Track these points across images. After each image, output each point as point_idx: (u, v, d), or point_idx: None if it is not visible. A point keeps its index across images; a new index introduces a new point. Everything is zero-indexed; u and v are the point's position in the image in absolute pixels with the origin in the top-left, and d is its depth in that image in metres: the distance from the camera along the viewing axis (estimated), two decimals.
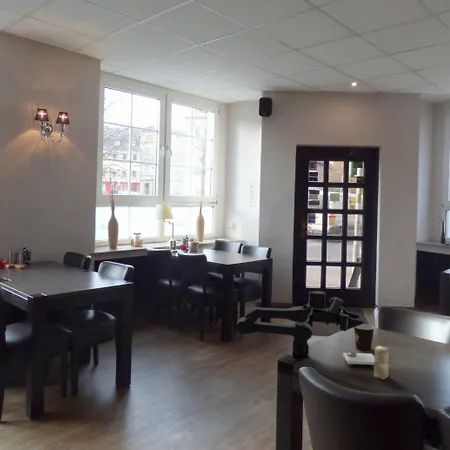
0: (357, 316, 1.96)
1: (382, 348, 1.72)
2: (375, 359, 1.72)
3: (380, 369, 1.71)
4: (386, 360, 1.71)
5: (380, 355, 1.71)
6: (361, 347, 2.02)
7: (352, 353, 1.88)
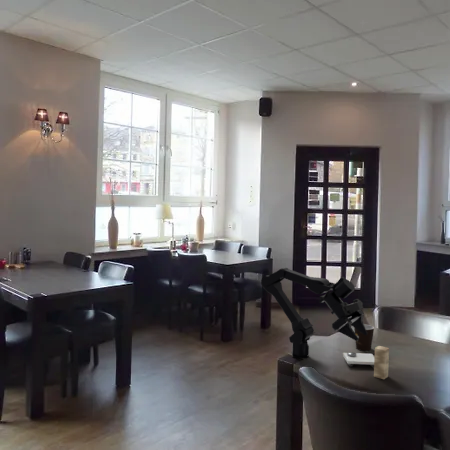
0: (365, 333, 1.81)
1: (382, 348, 1.72)
2: (375, 359, 1.72)
3: (380, 369, 1.71)
4: (386, 360, 1.71)
5: (380, 355, 1.71)
6: (361, 347, 2.02)
7: (352, 353, 1.88)
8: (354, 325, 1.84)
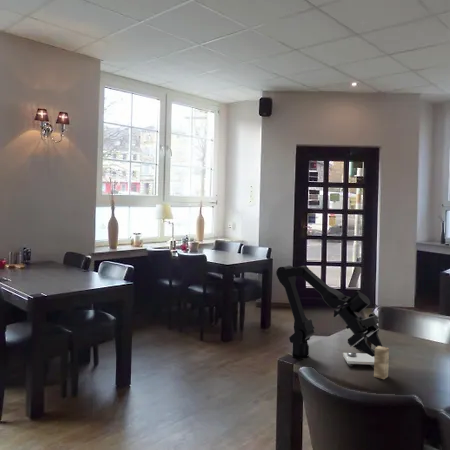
0: None
1: (382, 348, 1.72)
2: (375, 359, 1.72)
3: (380, 369, 1.71)
4: (386, 360, 1.71)
5: (380, 355, 1.71)
6: None
7: (352, 353, 1.88)
8: (369, 340, 1.80)
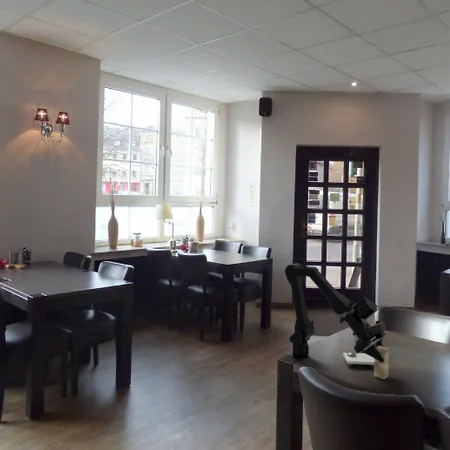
0: None
1: (382, 348, 1.72)
2: (375, 359, 1.72)
3: (380, 369, 1.71)
4: (386, 360, 1.71)
5: None
6: None
7: (352, 353, 1.88)
8: None
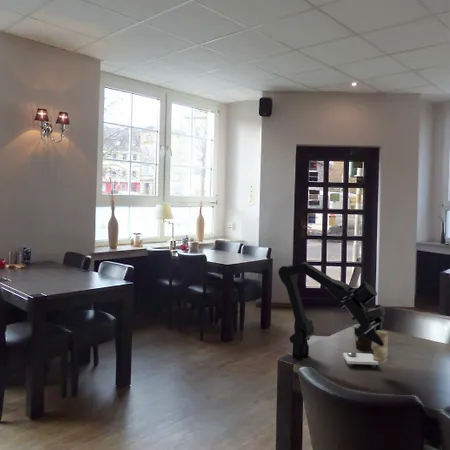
0: None
1: (382, 332, 1.73)
2: (375, 343, 1.73)
3: (380, 352, 1.72)
4: (386, 344, 1.72)
5: None
6: (361, 347, 2.02)
7: (352, 353, 1.88)
8: None
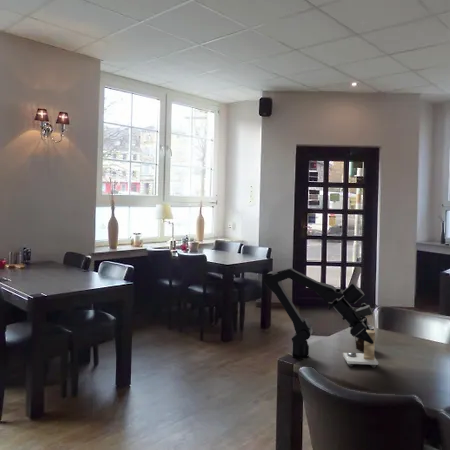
0: None
1: (370, 331, 1.85)
2: (365, 342, 1.84)
3: (370, 350, 1.83)
4: (374, 342, 1.84)
5: None
6: (361, 347, 2.02)
7: (352, 353, 1.88)
8: None
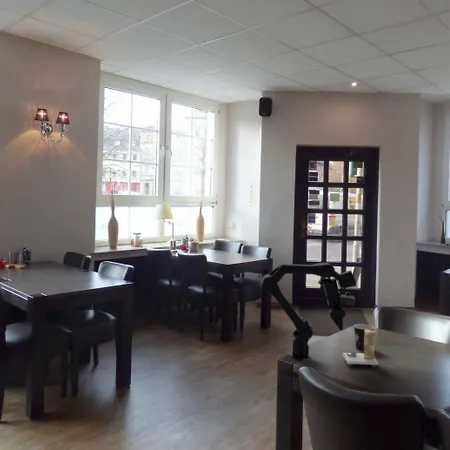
0: None
1: (370, 331, 1.85)
2: (365, 342, 1.84)
3: (370, 350, 1.83)
4: (374, 342, 1.84)
5: (370, 338, 1.83)
6: (361, 347, 2.02)
7: (352, 353, 1.88)
8: None
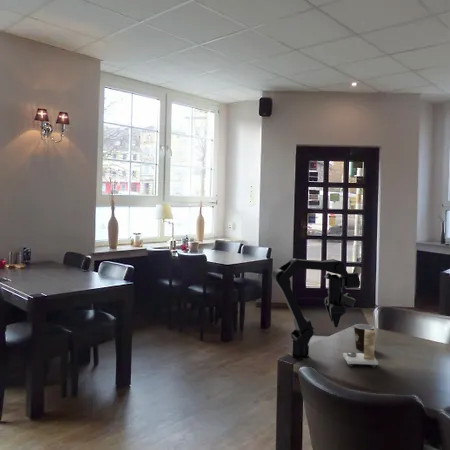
0: (332, 319, 2.01)
1: (370, 331, 1.85)
2: (365, 342, 1.84)
3: (370, 350, 1.83)
4: (374, 342, 1.84)
5: (370, 338, 1.83)
6: (361, 347, 2.02)
7: (352, 353, 1.88)
8: (328, 308, 2.02)
